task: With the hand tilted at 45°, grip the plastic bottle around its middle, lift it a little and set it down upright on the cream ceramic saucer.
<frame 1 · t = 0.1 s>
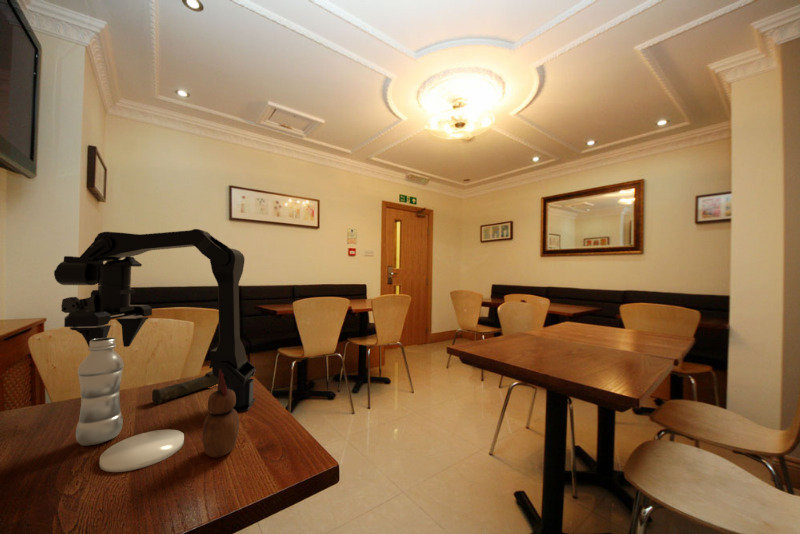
hand: (112, 351, 72), 15 cm above the table, tool pointing down, fingers open, 9 cm apart
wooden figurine: (220, 452, 57), on the table
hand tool: (192, 393, 85), on the table
plastic bottle: (99, 442, 60), on the table
saucer: (144, 451, 57), on the table
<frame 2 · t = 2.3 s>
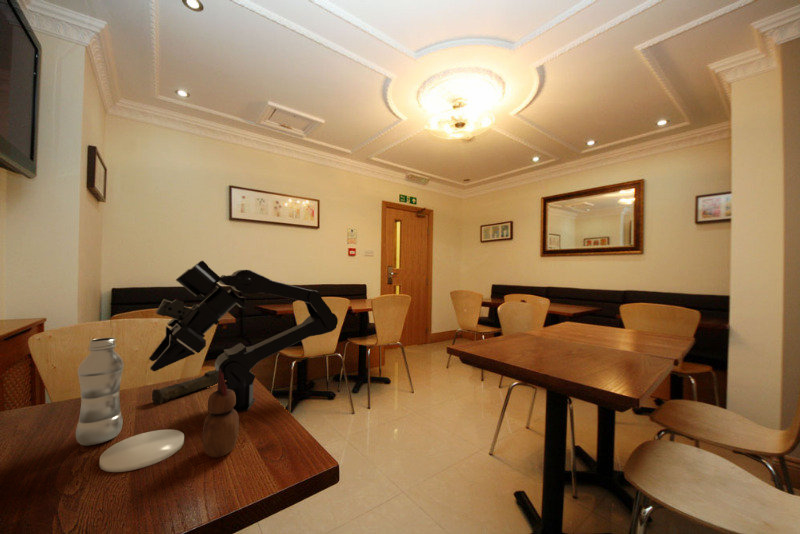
hand: (151, 364, 65), 14 cm above the table, tool tilted 45°, fingers open, 9 cm apart
nothing on the table moved.
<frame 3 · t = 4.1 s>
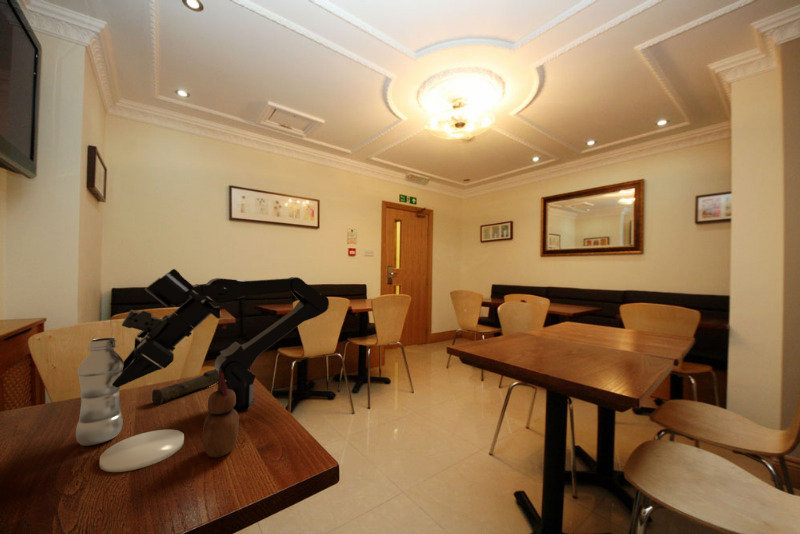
hand: (115, 379, 62), 12 cm above the table, tool tilted 45°, fingers open, 9 cm apart
nothing on the table moved.
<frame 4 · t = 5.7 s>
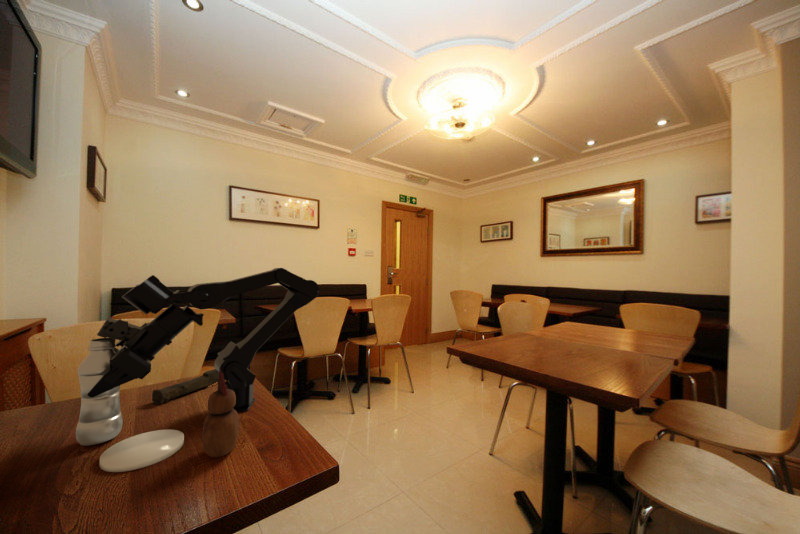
hand: (91, 391, 59), 10 cm above the table, tool tilted 45°, fingers closed on plastic bottle, 6 cm apart
plastic bottle: (99, 442, 60), on the table, touching gripper
everything else where it was.
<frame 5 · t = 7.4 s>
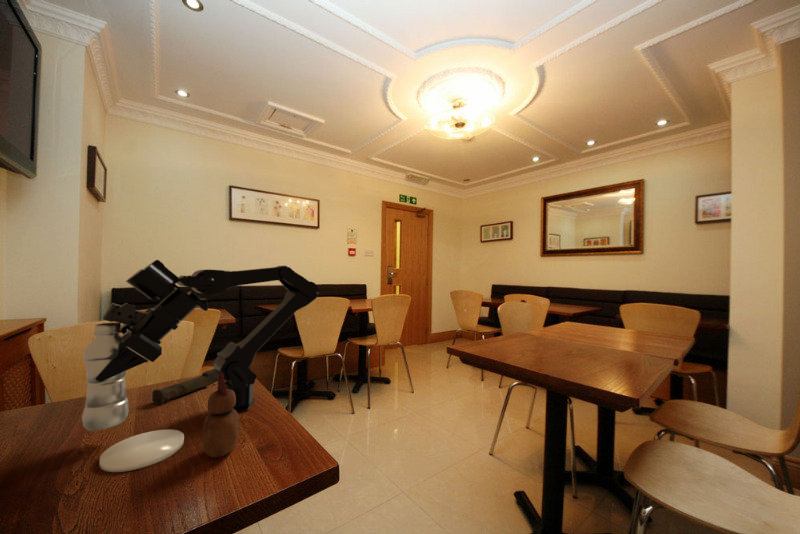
hand: (97, 376, 58), 13 cm above the table, tool tilted 45°, fingers closed on plastic bottle, 6 cm apart
plastic bottle: (106, 427, 59), point 3 cm above the table, touching gripper
when the fingers open (11 cm above the table, at t = 9.4 s): plastic bottle stays where it is, resting on saucer.
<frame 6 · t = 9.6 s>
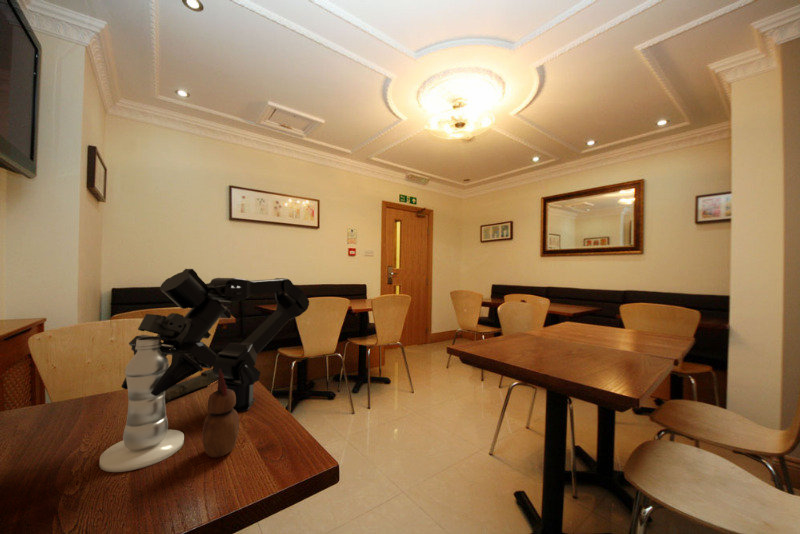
hand: (138, 391, 56), 12 cm above the table, tool tilted 45°, fingers open, 8 cm apart
plastic bottle: (145, 446, 57), point 1 cm above the table, touching saucer
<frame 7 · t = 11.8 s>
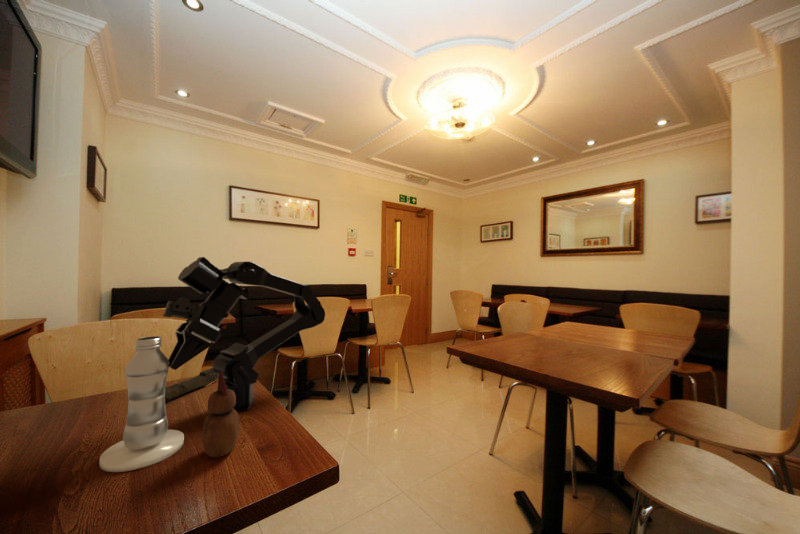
hand: (170, 367, 64), 13 cm above the table, tool tilted 35°, fingers open, 9 cm apart
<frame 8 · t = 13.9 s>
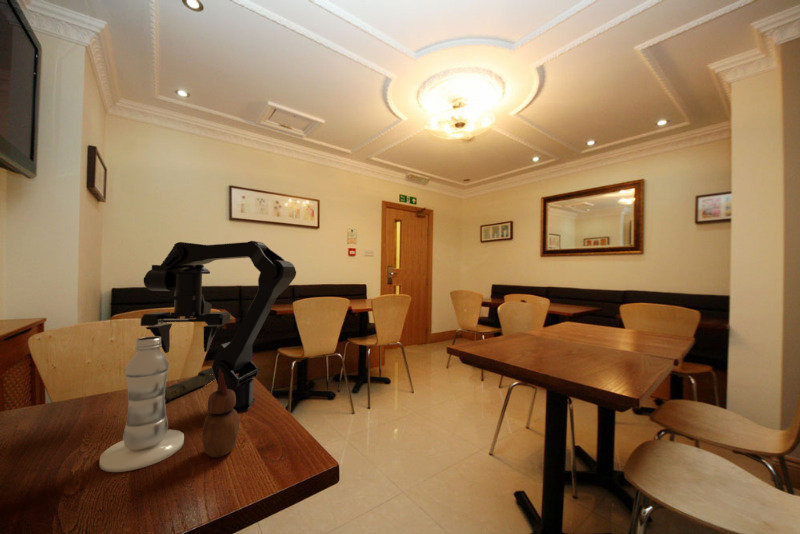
hand: (186, 352, 78), 13 cm above the table, tool pointing down, fingers open, 9 cm apart
at the end: plastic bottle inside the target area on the saucer (0.1 cm from its centre), point 0.8 cm above the saucer's base; plastic bottle tilted 0°; the gripper is holding nothing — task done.
